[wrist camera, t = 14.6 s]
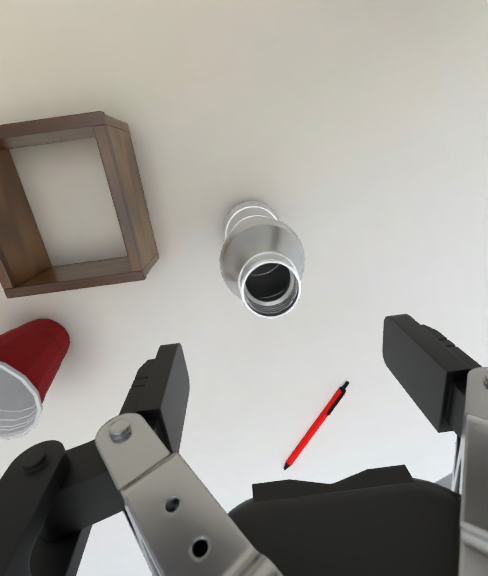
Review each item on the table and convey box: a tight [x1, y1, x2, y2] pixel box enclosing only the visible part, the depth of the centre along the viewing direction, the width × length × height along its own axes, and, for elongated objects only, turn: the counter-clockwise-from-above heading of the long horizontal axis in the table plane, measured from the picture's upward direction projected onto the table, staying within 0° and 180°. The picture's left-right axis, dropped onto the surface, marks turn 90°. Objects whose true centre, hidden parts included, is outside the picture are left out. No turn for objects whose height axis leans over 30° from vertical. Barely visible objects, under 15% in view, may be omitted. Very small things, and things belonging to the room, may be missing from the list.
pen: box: [284, 382, 349, 470], centre depth 48 cm, size 1×19×1 cm, turn 154°
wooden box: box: [0, 111, 159, 298], centre depth 32 cm, size 15×14×7 cm
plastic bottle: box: [220, 201, 305, 319], centre depth 28 cm, size 6×7×20 cm
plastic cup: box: [0, 319, 70, 439], centre depth 36 cm, size 11×11×12 cm
